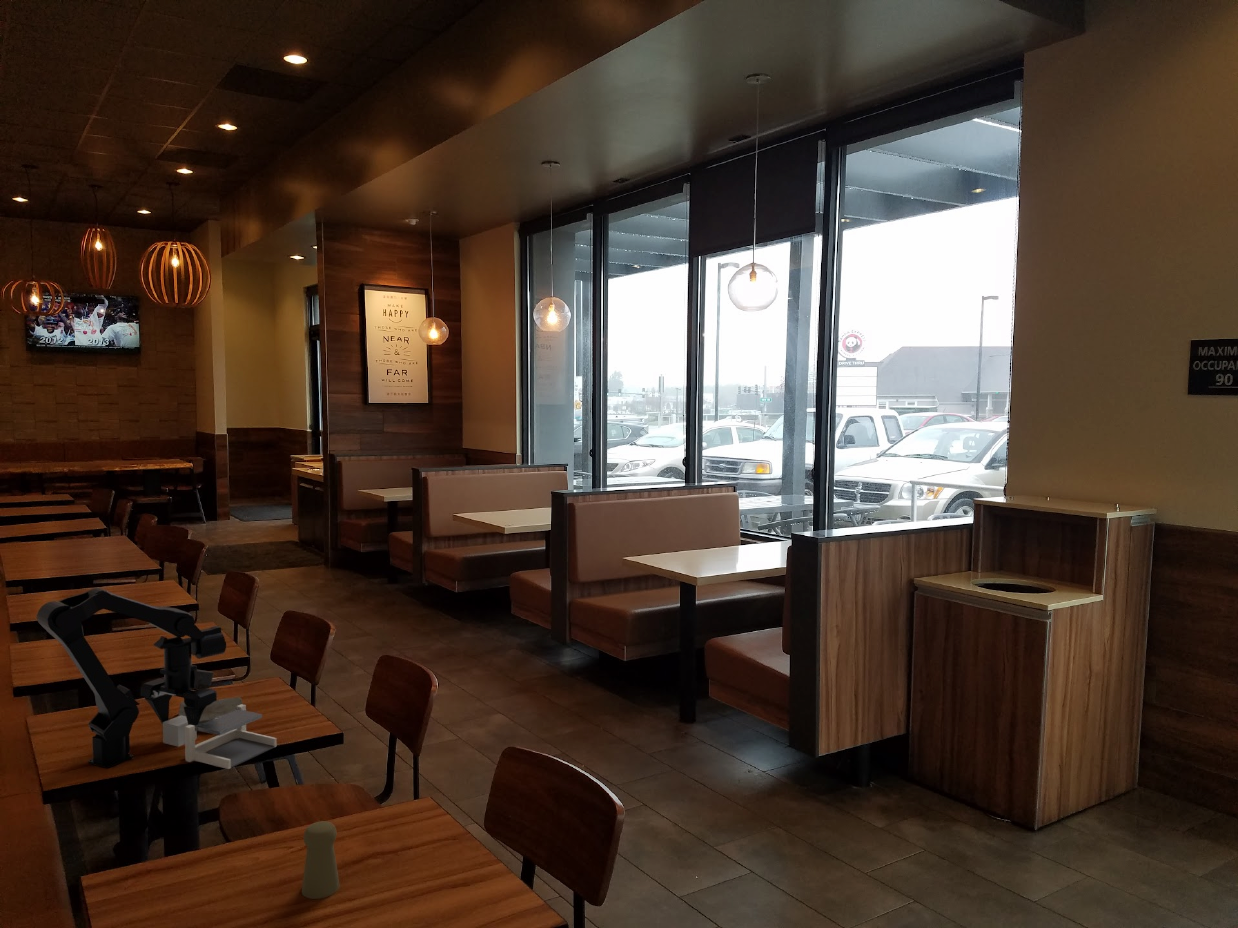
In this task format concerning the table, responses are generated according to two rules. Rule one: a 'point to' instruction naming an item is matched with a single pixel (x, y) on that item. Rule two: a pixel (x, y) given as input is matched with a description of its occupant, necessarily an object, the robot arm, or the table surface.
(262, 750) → the frame
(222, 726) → the trapdoor
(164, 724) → the light grey cube
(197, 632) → the robot arm
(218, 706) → the marble piece
